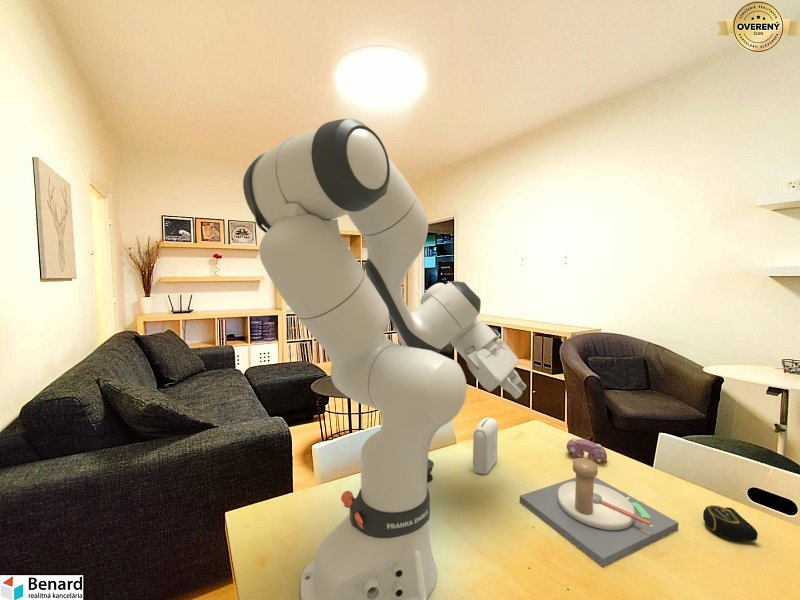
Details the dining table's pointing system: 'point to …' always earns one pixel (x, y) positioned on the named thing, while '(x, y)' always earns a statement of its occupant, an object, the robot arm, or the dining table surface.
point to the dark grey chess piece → (429, 470)
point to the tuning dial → (595, 500)
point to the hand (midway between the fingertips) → (521, 392)
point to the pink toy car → (586, 449)
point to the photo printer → (485, 445)
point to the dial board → (595, 540)
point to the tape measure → (728, 524)
